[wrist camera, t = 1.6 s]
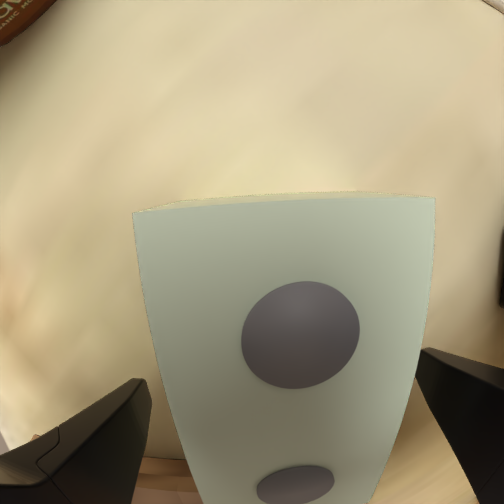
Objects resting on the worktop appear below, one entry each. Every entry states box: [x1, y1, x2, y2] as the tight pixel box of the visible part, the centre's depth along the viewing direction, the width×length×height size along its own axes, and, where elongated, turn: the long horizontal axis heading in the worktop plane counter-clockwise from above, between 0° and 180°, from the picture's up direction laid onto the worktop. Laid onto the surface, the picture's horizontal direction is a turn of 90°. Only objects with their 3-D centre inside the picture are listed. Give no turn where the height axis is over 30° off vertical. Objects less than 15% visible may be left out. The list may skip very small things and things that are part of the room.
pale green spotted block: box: [132, 191, 435, 504], centre depth 9 cm, size 6×11×5 cm, turn 4°
